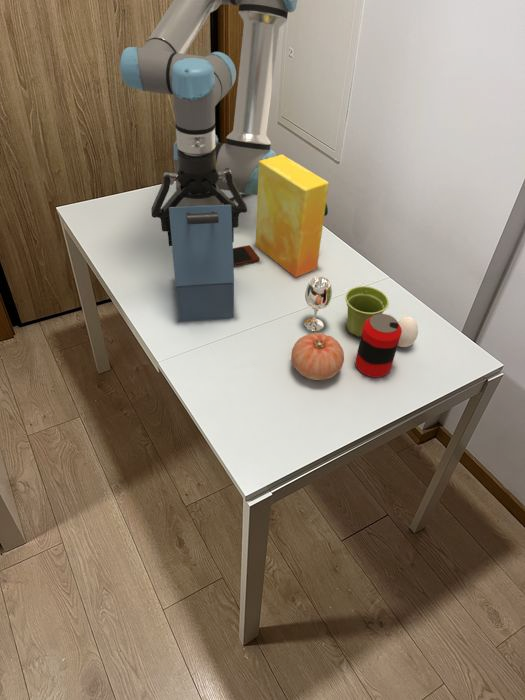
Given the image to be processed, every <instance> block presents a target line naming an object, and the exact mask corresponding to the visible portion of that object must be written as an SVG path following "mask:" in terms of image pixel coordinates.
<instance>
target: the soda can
mask: <svg viewBox="0 0 525 700" xmlns="http://www.w3.org/2000/svg"><path fill="white" fill-rule="evenodd" d="M401 333H402V329H401V327H400V325H399V324H398V320H397V319H396V318H395V317H394V316H392V315H390V314H387V313H382V314H376V315H374V316H372V317H370V318H368V319H367V320H366V321H365V323H364V326H363V330H362V334H361V337H360V339H359V343H358V348H357V352H356V356H355V366H356V368H357V370H358V371H360V372H361V373H362V374H364V376H367V377H369V378H371V377H372V378H381V377H384V376H387V375H388V374H389V373H390V372H391V369H392V366H393V363H394V360H395V356H396V352H397V349H398V347H399V346H398V343H399V340H400V336H401Z"/></svg>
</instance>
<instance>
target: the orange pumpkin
mask: <svg viewBox="0 0 525 700" xmlns="http://www.w3.org/2000/svg"><path fill="white" fill-rule="evenodd" d="M292 346H293V347H292V348H291V355H290V356H291V357H290V358H291V363H292V365H293V367H294V368H295V370H296V371H297V372H298V373H299V374H300V375H301V376H303V377H305V378H307V379H309V380H314V381H322V380H323V381H324V380H327V379H330V378H332V377H334V376H336V375H337V374H338V373H339V372H340V370H341V369H342V368H343V365H344V362H345V354H344V353H345V352H344V350H343V347H342V346H341V343H339V342H338V340H336V339H335V338H334V337H333V336H331V335H327V334H326V333H323V332H322V333H320V332H313V333H308V334H305V335H303V336H302V337H301V336H300V337H299V339H297V340H296V342H295V343H294V345H292Z"/></svg>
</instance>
